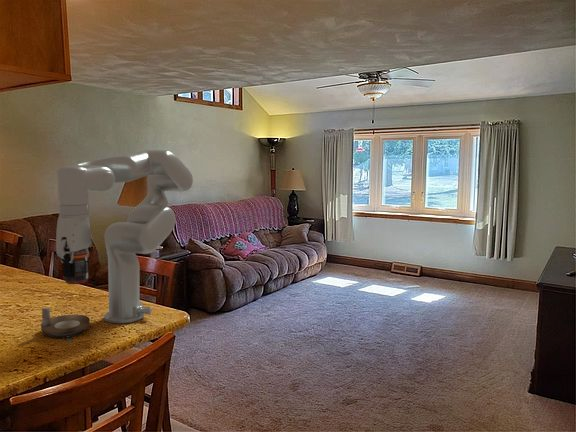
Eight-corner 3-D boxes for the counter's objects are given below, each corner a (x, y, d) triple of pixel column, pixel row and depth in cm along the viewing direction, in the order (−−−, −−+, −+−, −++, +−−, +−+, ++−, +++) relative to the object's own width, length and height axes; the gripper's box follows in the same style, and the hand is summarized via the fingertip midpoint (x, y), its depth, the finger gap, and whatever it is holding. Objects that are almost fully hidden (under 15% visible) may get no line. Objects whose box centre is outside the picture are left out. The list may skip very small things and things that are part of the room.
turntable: (81, 316, 142) (80, 296, 141) (96, 327, 132) (96, 306, 132) (35, 325, 133) (35, 304, 132) (48, 337, 123) (48, 315, 123)
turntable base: (92, 326, 137) (92, 322, 137) (70, 341, 125) (70, 337, 125) (59, 324, 138) (58, 321, 138) (34, 340, 125) (34, 336, 125)
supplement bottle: (93, 280, 128) (91, 242, 126) (76, 286, 122) (75, 245, 121) (77, 278, 130) (75, 240, 128) (60, 283, 124) (58, 243, 123)
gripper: (79, 207, 132) (81, 266, 134) (41, 213, 115) (44, 281, 117) (103, 208, 131) (105, 267, 134) (67, 214, 114) (70, 282, 117)
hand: (76, 273), depth 126 cm, fingers closed on supplement bottle, 6 cm apart
